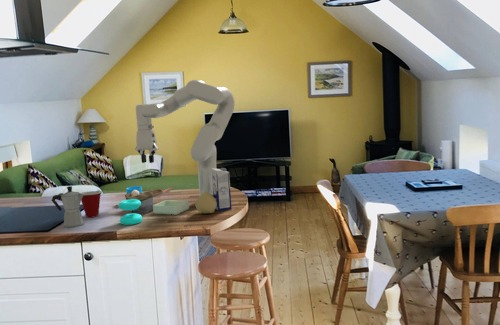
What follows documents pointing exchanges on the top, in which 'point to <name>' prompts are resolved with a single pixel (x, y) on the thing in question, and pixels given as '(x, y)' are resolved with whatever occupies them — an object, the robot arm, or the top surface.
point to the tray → (171, 207)
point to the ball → (135, 193)
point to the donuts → (130, 218)
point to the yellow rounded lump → (206, 203)
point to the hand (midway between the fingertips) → (147, 162)
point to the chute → (147, 194)
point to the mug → (130, 189)
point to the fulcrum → (145, 206)
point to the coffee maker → (70, 207)
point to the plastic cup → (91, 203)
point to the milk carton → (221, 188)
